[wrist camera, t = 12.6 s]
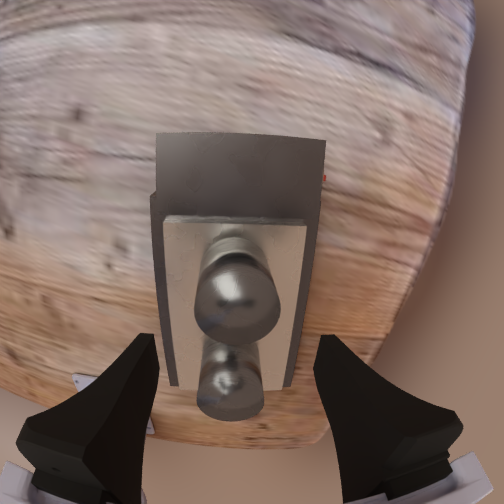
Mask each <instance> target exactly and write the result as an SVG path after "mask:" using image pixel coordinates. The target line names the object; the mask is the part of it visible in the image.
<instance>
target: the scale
mask: <svg viewBox="0 0 504 504" xmlns="http://www.w3.org/2000/svg"><path fill="white" fill-rule="evenodd" d="M325 147H326V140H318V139H309V138H299V137H288V136H276V135H261V134H242V133H201V132H192V133H156V191H155V192H154V193H153V194H152V195H151V196H150V212H151V232H152V247H153V260H154V272H155V282H156V292H157V301H158V309H159V317H160V325H161V332H162V339H163V346H164V352H165V358H166V364H167V370H168V376H169V381H170V386H179V388H180V390H198V384H199V376H200V368H201V360H202V352H203V347H204V345H205V343H206V342H207V341H208V340H209V339H210V337H208V336H207V335H206V334H205V333H204V332H203V331H202V330H201V329H200V328H199V326H198V324H197V322H196V320H195V316H194V304H195V297H196V290H197V284H198V277H199V271H200V265H201V260H202V257H203V255H204V253H205V252H206V250H207V249H208V248H209V247H210V246H211V245H212V244H214V243H215V242H217V241H219V240H221V239H224V238H228V237H241V238H245V239H248V240H250V241H252V242H254V243H255V244H257V245H258V246H259V247H260V248H261V249H262V251H263V252H264V254H265V256H266V259H267V262H268V265H269V268H270V271H271V274H272V277H273V280H274V284H275V287H276V290H277V293H278V296H279V299H280V304H281V313H280V317H279V320H278V322H277V324H276V326H275V327H274V328H273V330H272V331H271V332H270V333H269V334H268V335H266V336H265V337H263V338H262V339H260V340H258V341H256V342H255V343H256V345H257V346H258V349H259V356H260V365H261V375H262V385H263V391H270V390H282V387H291V382H292V377H293V373H294V368H295V363H296V358H297V353H298V348H299V342H300V337H301V332H302V326H303V321H304V315H305V309H306V303H307V298H308V291H309V285H310V279H311V272H312V266H313V259H314V252H315V245H316V238H317V230H318V222H319V214H320V206H321V201H320V198H321V189H322V184H323V181H325V180H326V175H324V159H325Z"/></svg>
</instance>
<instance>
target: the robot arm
mask: <svg viewBox="0 0 504 504" xmlns="http://www.w3.org/2000/svg"><path fill="white" fill-rule="evenodd" d="M159 370H160V367H159V362H158V356H157V351H156V345H155V339H154V334H148V333H140V334H139V335H138V336H137V337H136V338H135V339H134V340H133V341H132V343H131V344H130V345H129V346H128V347H127V348H126V349H125V350H124V352H123V353H122V354H121V355H120V356H119V357H118V358H117V359H116V360H115V361H114V362H113V363H112V364H111V365H110V366H109V367H108V368H107V369H106V370H105V371H104V372H103V373H102V374H101V375H100V376H99V377H93V376H87V375H81V374H73V375H72V379H73V381H74V383H75V385H76V388H77V390H78V393H77V394H75V395H74V396H72V397H71V398H69V399H67V400H66V401H64V402H62V403H60V404H59V405H57V406H55V407H53V408H51V409H48V410H46V411H44V412H41V413H39V414H36V415H34V416H31V417H28V418H27V419H26V421H25V423H24V425H23V427H22V429H21V431H20V434H19V436H18V438H17V441H16V445H17V447H18V449H19V451H20V452H21V453H22V454H23V456H24V457H25V458H26V459H27V460H28V461H29V462H30V463H31V464H32V465H33V466H34V467H35V468H36V469H35V472H34V474H33V473H32V472H30V471H28V470H27V469H24V468H22V467H20V466H18V465H15V464H14V463H11V462H9V461H6V463H5V465H4V468H3V471H2V473H1V476H0V504H147V500H146V496H145V494H144V492H143V489H142V488H141V485H142V464H143V452H144V444H145V439H146V434H154V433H155V430H154V427H153V424H152V421H151V418H150V413H151V409H152V406H153V402H154V398H155V394H156V390H157V385H158V377H159ZM313 370H314V376H315V381H316V385H317V389H318V392H319V395H320V398H321V401H322V404H323V406H324V409H325V412H326V415H327V418H328V420H329V423H330V426H331V430H332V433H333V437H334V442H335V447H336V452H337V458H338V463H339V470H340V477H341V485H342V496H343V504H475V503H477V502H478V501H479V500H481V499H482V498H484V497H485V496H486V495H487V494H489V493H490V492H492V491H493V487H492V485H491V483H490V481H489V479H488V477H487V475H486V473H485V472H484V470H483V468H482V466H481V464H480V463H479V461H478V459H477V457H476V455H475V454H474V452H473V451H471V452H469V453H468V454H465V455H463V456H461V457H459V458H457V459H455V460H454V461H452V462H451V463H450V464H449V462H448V460H447V458H449V457H450V454H449V452H448V448H449V447H450V446H451V445H452V444H453V443H454V441H455V440H456V439H457V438H458V437H459V436H460V434H461V433H462V430H463V424H462V423H461V421H460V419H459V418H458V416H457V415H456V413H455V411H452V410H449V409H446V408H442V407H439V406H436V405H433V404H431V403H428V402H426V401H423V400H421V399H419V398H416V397H415V396H413V395H411V394H409V393H407V392H405V391H403V390H401V389H400V388H398V387H396V386H395V385H393V384H392V383H390V382H389V381H387V380H386V379H384V378H383V377H381V376H380V375H379V374H378V373H376V372H375V371H374V370H373V369H371V368H370V367H369V366H368V365H367V364H365V363H364V362H363V361H362V360H361V359H360V358H359V357H358V356H356V355H355V354H354V353H353V352H352V351H351V350H350V349H349V348H348V347H347V346H346V345H345V344H344V343H343V342H342V341H341V340H340V339H339V338H338V337H336V336H335V335H334V334H333V335H321V338H320V342H319V347H318V351H317V355H316V359H315V363H314V367H313Z"/></svg>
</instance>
